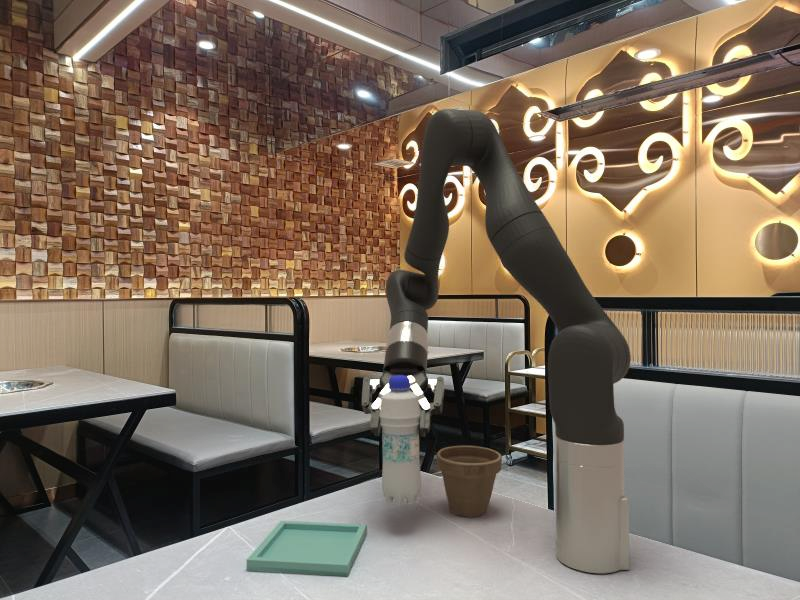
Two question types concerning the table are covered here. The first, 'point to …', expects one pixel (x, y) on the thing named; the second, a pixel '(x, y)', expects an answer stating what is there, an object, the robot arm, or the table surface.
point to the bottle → (400, 441)
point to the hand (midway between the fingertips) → (399, 433)
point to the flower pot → (468, 477)
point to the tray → (309, 548)
